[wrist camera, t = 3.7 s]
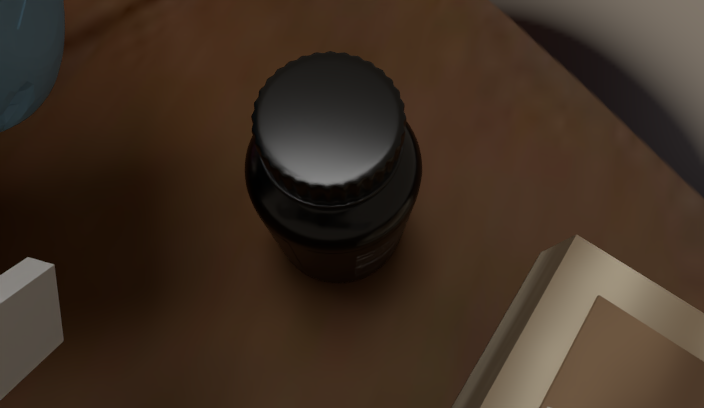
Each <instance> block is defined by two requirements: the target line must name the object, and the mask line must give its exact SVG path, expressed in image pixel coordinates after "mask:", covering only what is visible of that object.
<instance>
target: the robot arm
mask: <svg viewBox="0 0 704 408" xmlns="http://www.w3.org/2000/svg"><path fill="white" fill-rule="evenodd" d="M64 35H65V17H64V2H63V0H0V132H2V131H5V130H7V129H9V128H11V127H13V126H15V125H17V124H19V123H21V122H22V121H24V120H25V119H27V118H28V117H29V116H31V115H32V114H33V113H34V112H35V111H36V110H37V109H38V108H39V107H40V106H41V104H42V103H43V102H44V101H45V99H46V98H47V97H48V95H49V93H50V91H51V90H52V88H53V86H54V84H55V81H56V79H57V76H58V72H59V69H60V65H61V61H62V56H63V49H64ZM63 341H64V338H63V330H62V322H61V314H60V306H59V298H58V289H57V281H56V273H55V265H54V264H51V263H47V262H44V261H40V260H37V259H33V258H30V257H27V258H26V259H24V260H23V261H21V262H20V263H18V264H17V265H15V266H13V267H12V268H10V269H9V270H7V271H6V272H4V273H3V274H1V275H0V400H1V399H2V398H3V397H5V396H6V395H7V394H8V393H9V392H10V391H11V390H12V389H13V388H14V387H15V386H16V385H17V384H18V383H19V382H21V381H22V380H23V379H24V378H25V377H26V376H27V375H28V374H29V373H30V372H31V371H32V370H33V369H34V368H35V367H36V366H38V365H39V364H40V363H41V362H42V361H43V360H44V359H45V358H46V357H47V356H48V355H49V354H50V353H51V352H52V351H54V350H55V349H56V348H57V347H58V346H59V345H60V344H61V343H62V342H63ZM547 408H550V407H547Z"/></svg>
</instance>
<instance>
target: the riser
mask: <svg viewBox="0 0 704 408" xmlns="http://www.w3.org/2000/svg"><path fill="white" fill-rule="evenodd" d="M547 407H550V408H704V313H702V312H701V311H699V310H698V309H696V308H694V307H693V306H691V305H690V304H688V303H686V302H685V301H683V300H681V299H680V298H678V297H677V296H675V295H673V294H672V293H670V292H669V291H667V290H665V289H664V288H662V287H660V286H659V285H657V284H656V283H654V282H652V281H651V280H649V279H648V278H646V277H644V276H643V275H641V274H640V273H638V272H636V271H635V270H633V269H631V268H630V267H628V266H627V265H625V264H623V263H622V262H620V261H619V260H617V259H615V258H614V257H612V256H611V255H609V254H607V253H606V252H604V251H602V250H601V249H599V248H598V247H596V246H594V245H593V244H591V243H590V242H588V241H586V240H585V239H583V238H581V237H580V236H578V235H575V236H573V237H571V238H569V239H567V240H565V241H563V242H561V243H559V244H557V245H555V246H553V247H551V248H549V249H547V250H545V251H543V252H541V253H540V255H539V257H538V259H537V260H536V262H535V264H534V266H533V267H532V269H531V271H530V273H529V274H528V276H527V278H526V279H525V281H524V283H523V285H522V286H521V288H520V290H519V292H518V293H517V295H516V297H515V299H514V300H513V302H512V304H511V306H510V307H509V309H508V311H507V312H506V314H505V316H504V318H503V319H502V321H501V323H500V325H499V326H498V328H497V330H496V332H495V333H494V335H493V337H492V338H491V340H490V342H489V344H488V345H487V347H486V349H485V351H484V352H483V354H482V356H481V358H480V359H479V361H478V363H477V365H476V366H475V368H474V370H473V371H472V373H471V375H470V377H469V378H468V380H467V382H466V384H465V385H464V387H463V389H462V391H461V392H460V394H459V396H458V397H457V399H456V401H455V403H454V404H453V406H452V408H547Z"/></svg>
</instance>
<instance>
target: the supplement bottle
mask: <svg viewBox="0 0 704 408" xmlns="http://www.w3.org/2000/svg"><path fill="white" fill-rule="evenodd" d="M254 109H255V110H254V112H253V114H252V116H251V118H252V122H253V126H252V134H253V136H252V138H251V140H250V143H249V146H248V149H247V153H246V160H245V180H246V186H247V190H248V193H249V196H250V199H251V201H252V204H253V206H254V208H255V210H256V211H257V213H258V215H259V217H260V218H261V220H262V221H263V223H264V224H265V226H266V227H267V228H268V230H269V231H270V233H271V234H272V236H273V237H274V239H275V240H276V242H277V243H278V245H279V246H280V248H281V249H282V251H283V252H284V254H285V255H286V256H287V258H288V259H289V260H290V261H291V262H292V263H293V264H294V265H295V266H296V267H297V268H298V269H299V270H301V271H302V272H303V273H305V274H307V275H308V276H310V277H313V278H315V279H318V280H321V281H324V282H330V283H347V282H353V281H357V280H360V279H363V278H365V277H367V276H369V275H371V274H372V273H374V272H375V271H377V270H378V269H379V268H381V267H382V266H383V265H384V264H385V263H386V262H387V260H388V259H389V258H390V257H391V255H392V254H393V252H394V250H395V249H396V247H397V245H398V243H399V240H400V238H401V236H402V233H403V231H404V228H405V226H406V223H407V221H408V218H409V216H410V213H411V211H412V209H413V206H414V204H415V201H416V198H417V195H418V192H419V188H420V183H421V177H422V159H421V153H420V148H419V145H418V142H417V139H416V137H415V134H414V132H413V131H412V129H411V127H410V125H409V124H408V123H407V121H406V116H405V113H404V103H403V101H402V100H401V99H400V92H399V90H398V89H397V88H395V87H394V85H393V81H392V79H390V78H389V77H387V76H386V75H385V73H384V72H383V70H381V69H379V68H376V67H375V66H374V65H373V64H372V63H371V62H369V61H364V60H362V59H361V58H360V57H359V56H350V55H349V54H347V53H335V52H331V51H329V52H326V53H314V54H312V55H310V56H301V57H300V58H299V59H297V60H295V61H290V62H288V63H287V64H286V65H285V67H282V68H280V69H277V71H276V72H275V74H274V75H273V76H272V77H270V78H268V79H267V81H266V84H265V86H264V87H263V88H261V89H260V90H259V97H258V98H257V100H256V101H255V102H254Z"/></svg>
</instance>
